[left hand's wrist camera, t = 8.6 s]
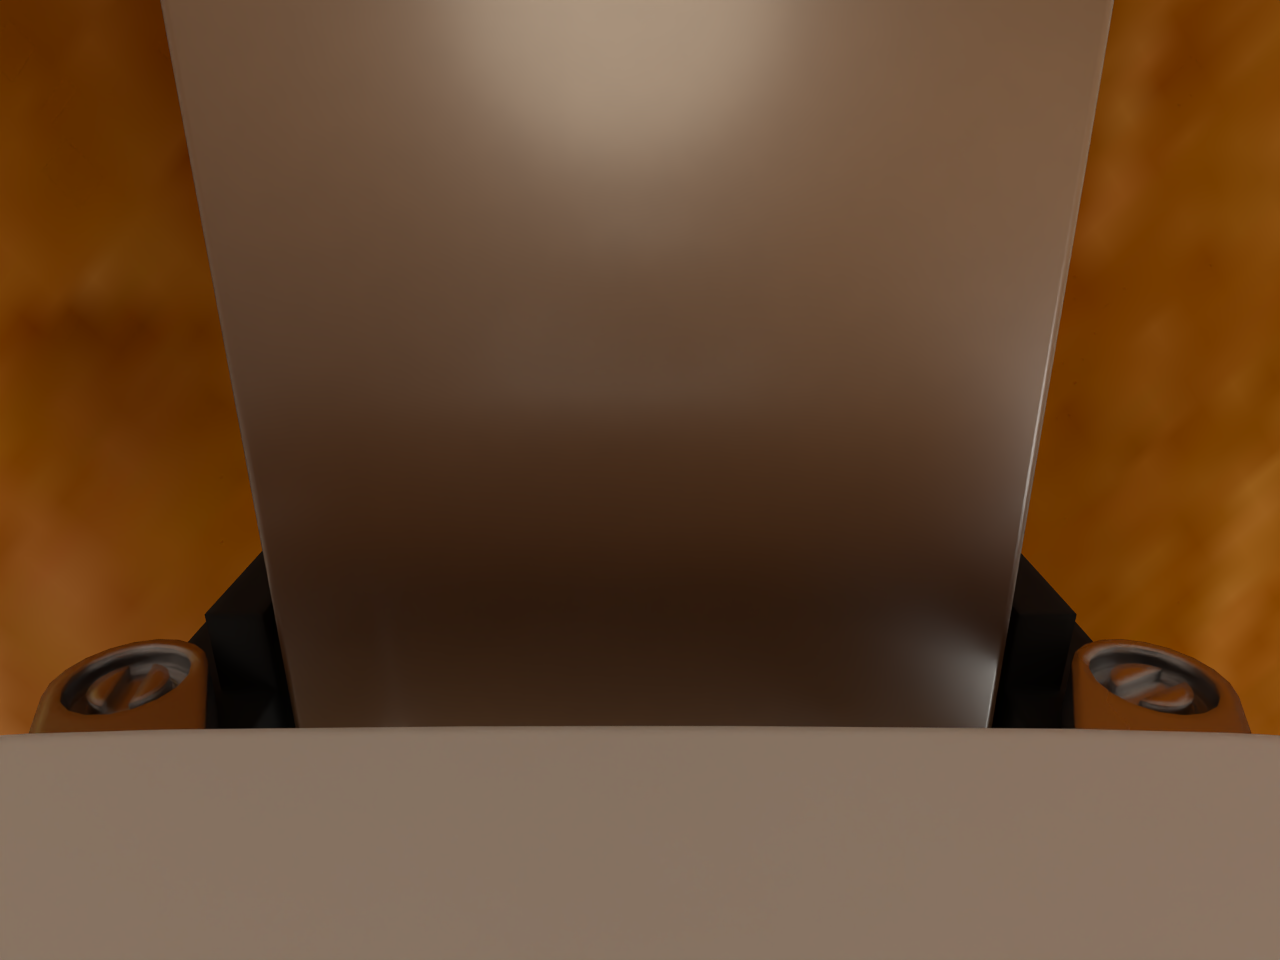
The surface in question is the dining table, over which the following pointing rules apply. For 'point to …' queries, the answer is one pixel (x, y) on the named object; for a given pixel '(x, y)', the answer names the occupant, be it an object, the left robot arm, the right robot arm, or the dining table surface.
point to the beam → (640, 344)
